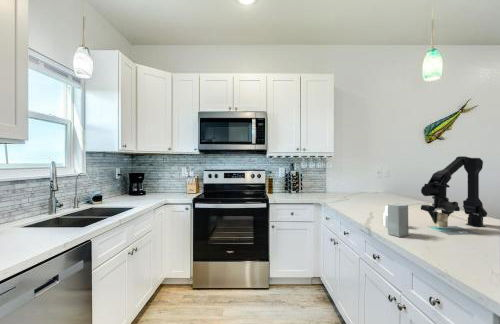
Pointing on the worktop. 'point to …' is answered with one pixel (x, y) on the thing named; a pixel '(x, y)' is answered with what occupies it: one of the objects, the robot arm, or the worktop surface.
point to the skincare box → (398, 220)
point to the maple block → (441, 220)
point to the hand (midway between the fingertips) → (439, 223)
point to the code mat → (454, 230)
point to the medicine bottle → (385, 217)
